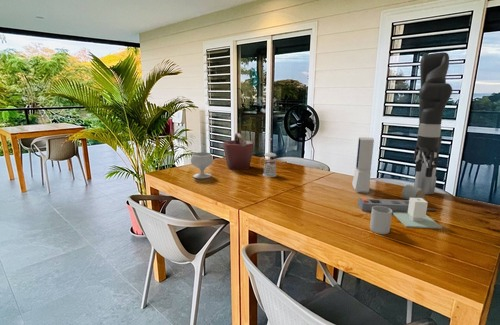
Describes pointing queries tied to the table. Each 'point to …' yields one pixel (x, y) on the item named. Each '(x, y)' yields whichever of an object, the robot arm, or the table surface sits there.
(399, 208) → the power strip
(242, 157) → the bucket
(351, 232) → the table surface
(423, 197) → the ceramic mug
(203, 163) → the chalice
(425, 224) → the rubber mat
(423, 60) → the robot arm
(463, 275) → the table surface
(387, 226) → the cup
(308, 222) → the table surface
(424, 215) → the block
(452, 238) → the table surface
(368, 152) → the electronic device
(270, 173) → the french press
